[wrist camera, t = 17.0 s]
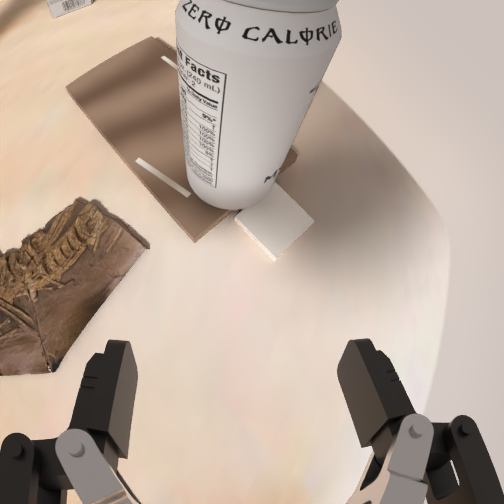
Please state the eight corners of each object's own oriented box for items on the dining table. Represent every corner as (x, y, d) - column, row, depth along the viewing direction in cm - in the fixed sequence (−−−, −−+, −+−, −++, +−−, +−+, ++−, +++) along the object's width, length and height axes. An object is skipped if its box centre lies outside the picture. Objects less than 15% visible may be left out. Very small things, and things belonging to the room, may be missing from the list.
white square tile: (233, 222, 22) (235, 216, 21) (272, 189, 23) (275, 182, 22) (273, 262, 22) (276, 258, 20) (309, 226, 23) (315, 221, 22)
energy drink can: (277, 213, 21) (384, 35, 6) (187, 217, 20) (163, 12, 6) (268, 140, 22) (330, -38, 8) (187, 141, 21) (182, -51, 7)
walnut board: (68, 93, 22) (65, 86, 21) (152, 43, 25) (151, 36, 24) (194, 242, 21) (194, 238, 20) (294, 161, 23) (298, 155, 22)
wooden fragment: (122, 180, 21) (119, 173, 20) (179, 317, 20) (177, 316, 19) (-77, 304, 16) (-83, 303, 14) (-46, 412, 14) (-53, 414, 13)
